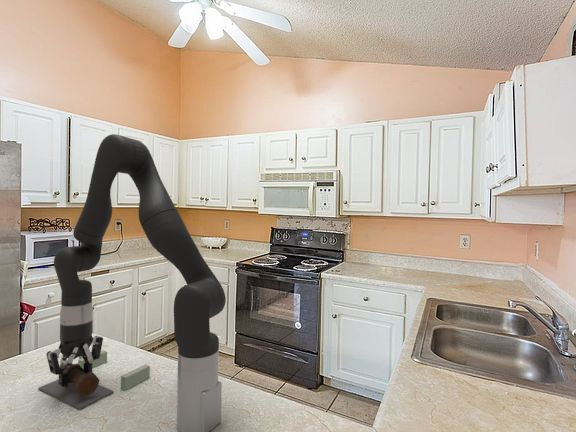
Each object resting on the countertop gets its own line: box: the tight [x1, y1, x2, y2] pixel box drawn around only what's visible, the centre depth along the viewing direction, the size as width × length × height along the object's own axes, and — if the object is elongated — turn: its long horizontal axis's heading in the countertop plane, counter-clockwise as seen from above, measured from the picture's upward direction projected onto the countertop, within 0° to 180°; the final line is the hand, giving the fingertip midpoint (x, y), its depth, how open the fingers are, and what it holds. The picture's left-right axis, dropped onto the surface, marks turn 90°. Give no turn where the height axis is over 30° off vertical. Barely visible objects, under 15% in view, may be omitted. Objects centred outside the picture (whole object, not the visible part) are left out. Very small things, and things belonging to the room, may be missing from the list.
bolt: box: [67, 363, 101, 397], centre depth 90 cm, size 6×5×15 cm
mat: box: [37, 378, 115, 411], centre depth 90 cm, size 19×9×1 cm, turn 62°
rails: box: [77, 349, 151, 391], centre depth 101 cm, size 28×8×4 cm, turn 62°
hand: (76, 381), depth 90 cm, fingers closed on bolt, 5 cm apart
